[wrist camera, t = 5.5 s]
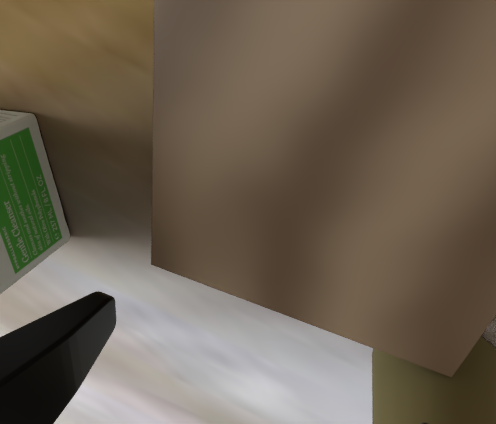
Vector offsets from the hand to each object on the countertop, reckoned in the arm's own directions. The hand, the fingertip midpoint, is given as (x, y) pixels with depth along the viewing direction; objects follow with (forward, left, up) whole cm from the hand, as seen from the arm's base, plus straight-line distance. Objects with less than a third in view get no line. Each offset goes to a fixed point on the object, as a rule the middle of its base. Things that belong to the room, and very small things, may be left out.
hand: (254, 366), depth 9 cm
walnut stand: (0, 0, -11) cm, 11 cm away
